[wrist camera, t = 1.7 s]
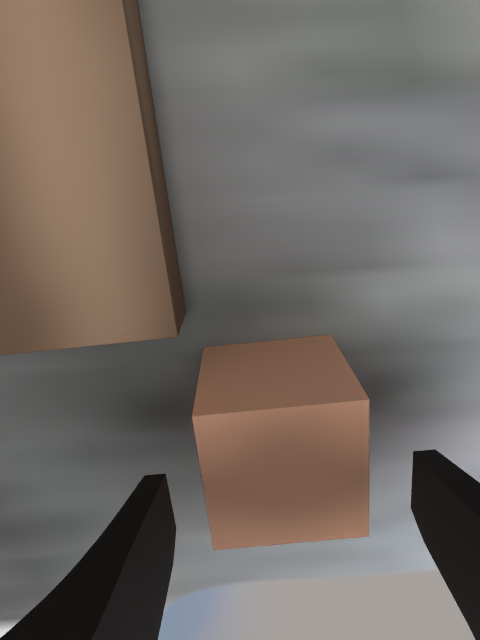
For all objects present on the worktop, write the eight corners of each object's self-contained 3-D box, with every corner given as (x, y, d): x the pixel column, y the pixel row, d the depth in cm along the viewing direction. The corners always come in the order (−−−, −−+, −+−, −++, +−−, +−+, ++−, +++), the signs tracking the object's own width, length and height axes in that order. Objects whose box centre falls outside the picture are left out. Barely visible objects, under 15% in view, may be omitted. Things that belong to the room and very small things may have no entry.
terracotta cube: (218, 452, 18) (213, 549, 14) (203, 346, 17) (192, 416, 12) (334, 441, 18) (369, 536, 14) (330, 333, 17) (369, 399, 12)
